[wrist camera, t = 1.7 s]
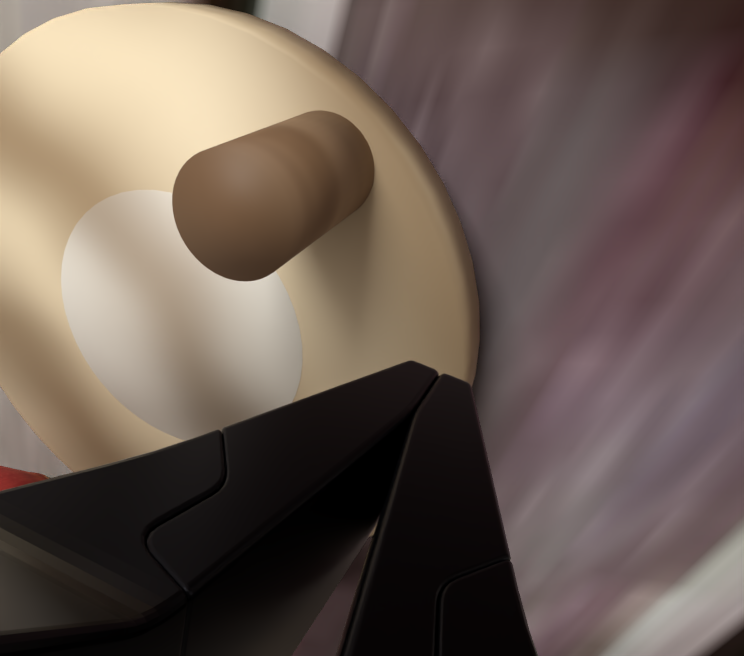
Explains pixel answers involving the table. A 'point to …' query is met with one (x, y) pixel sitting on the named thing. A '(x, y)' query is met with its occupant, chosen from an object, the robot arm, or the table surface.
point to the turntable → (208, 230)
